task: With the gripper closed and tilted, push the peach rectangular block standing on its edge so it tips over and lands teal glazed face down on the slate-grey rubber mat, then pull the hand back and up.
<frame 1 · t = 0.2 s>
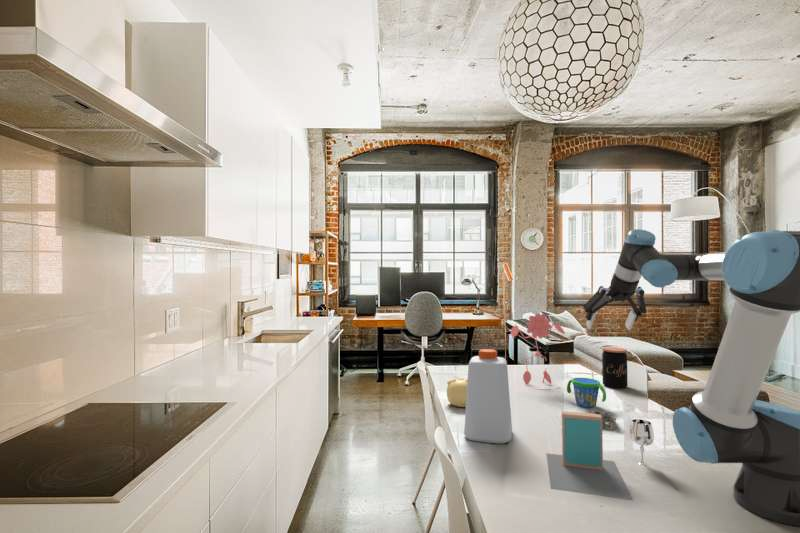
hand: (607, 327, 142), 35 cm above the table, tool tilted 35°, fingers open, 13 cm apart
plastic bottle: (488, 435, 136), on the table
snack cup: (586, 406, 168), on the table
peach rectangular block: (582, 465, 113), point 1 cm above the table, touching mat
wineglass: (642, 466, 114), on the table
sculpture: (460, 405, 168), on the table
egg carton: (603, 425, 146), on the table
pink flower: (539, 386, 198), on the table
mat: (584, 476, 108), on the table
coffee jar: (614, 386, 197), on the table
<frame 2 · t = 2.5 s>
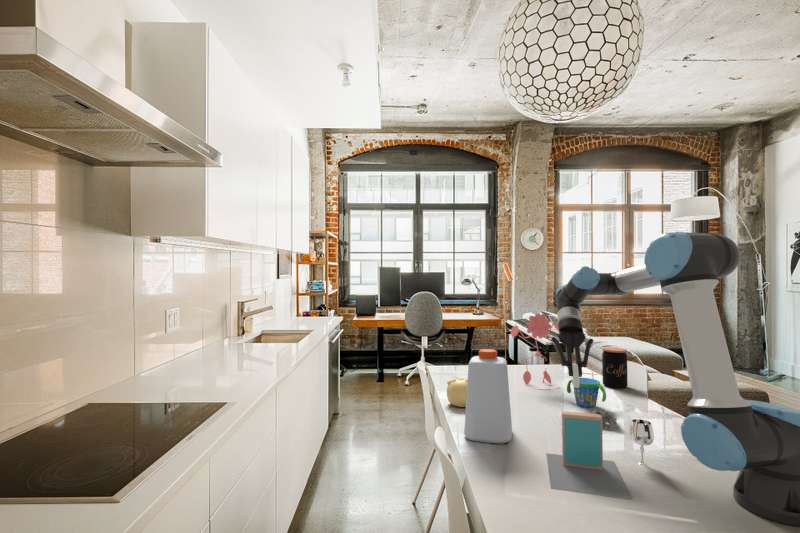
hand: (576, 385, 123), 20 cm above the table, tool tilted 45°, fingers closed
nothing on the table moved.
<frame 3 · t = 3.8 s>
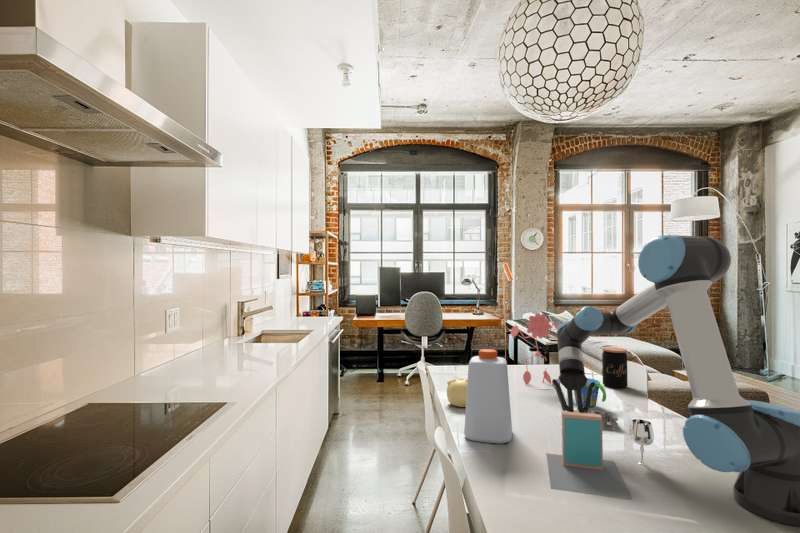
hand: (578, 433, 119), 7 cm above the table, tool tilted 45°, fingers closed
nothing on the table moved.
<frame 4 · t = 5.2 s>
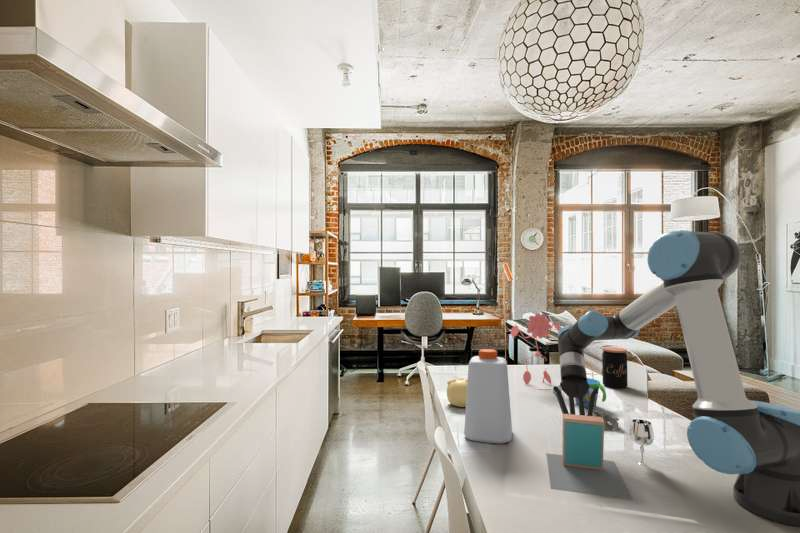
hand: (580, 443, 114), 6 cm above the table, tool tilted 45°, fingers closed
peach rectangular block: (582, 464, 113), point 1 cm above the table, tilted 12°, touching mat
everything else where it was.
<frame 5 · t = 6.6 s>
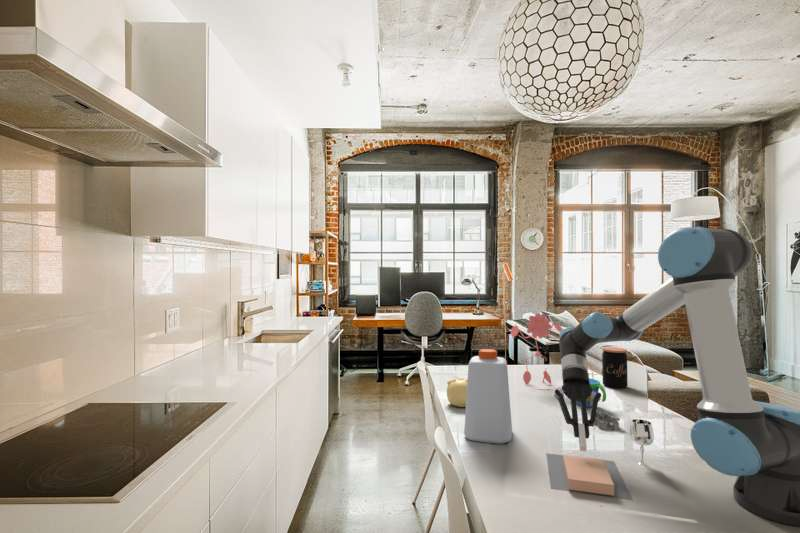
hand: (583, 448, 110), 6 cm above the table, tool tilted 45°, fingers closed
peach rectangular block: (582, 461, 111), point 2 cm above the table, tilted 90°, touching mat
everything else where it was.
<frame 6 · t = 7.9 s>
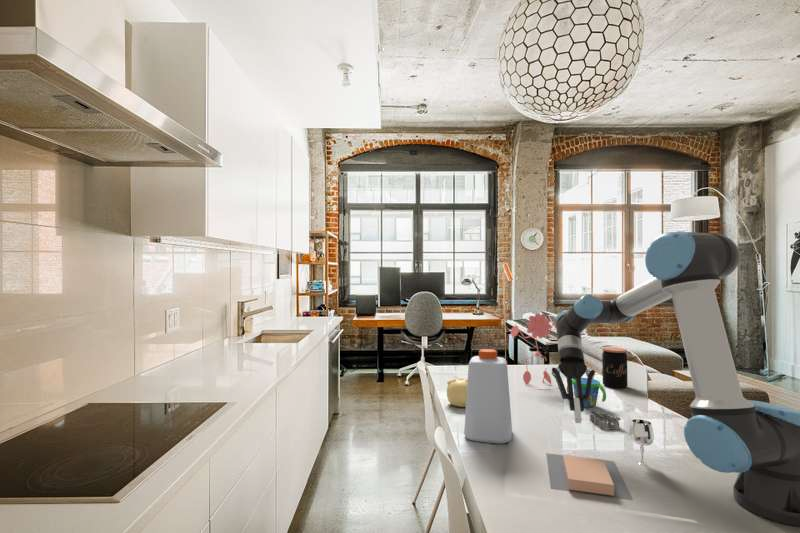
hand: (578, 420, 118), 11 cm above the table, tool tilted 45°, fingers closed
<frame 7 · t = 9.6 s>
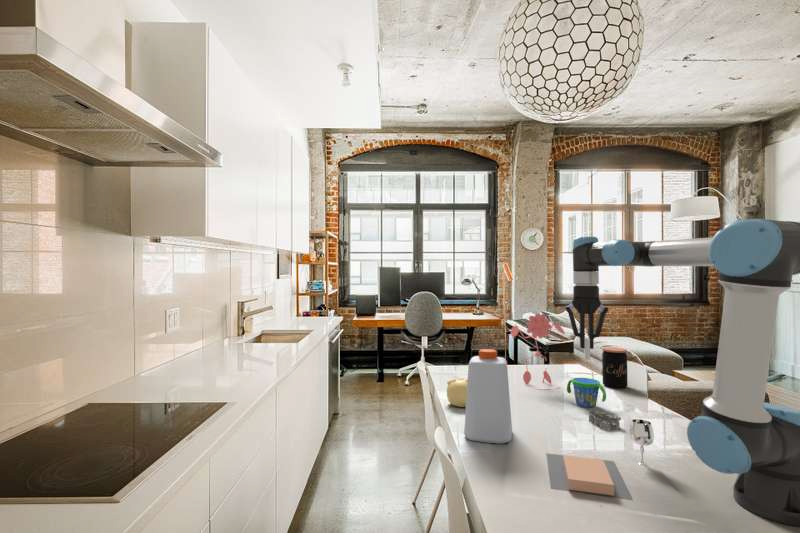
hand: (586, 358, 131), 26 cm above the table, tool pointing down, fingers closed
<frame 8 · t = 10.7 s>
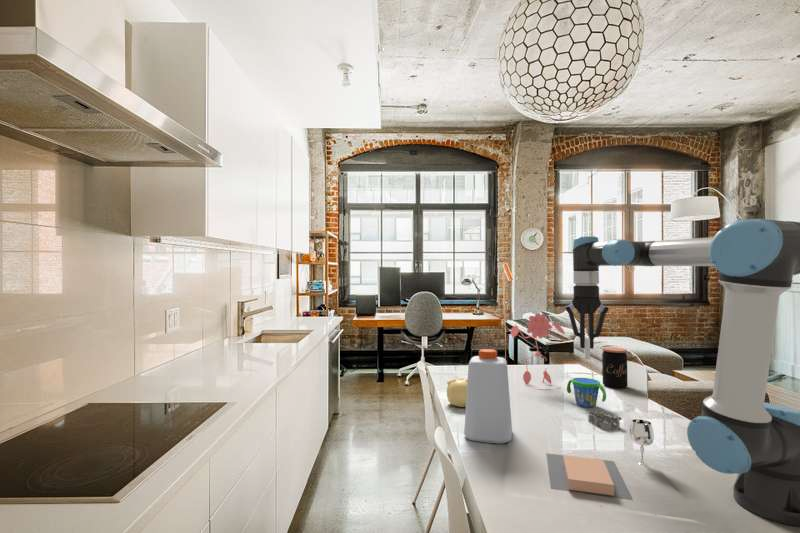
hand: (586, 358, 131), 26 cm above the table, tool pointing down, fingers closed
at the end: peach rectangular block tilted 90°; peach rectangular block touching mat; peach rectangular block inside the target area on the mat (0.1 cm from its centre), point 2.2 cm above the mat's base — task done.
